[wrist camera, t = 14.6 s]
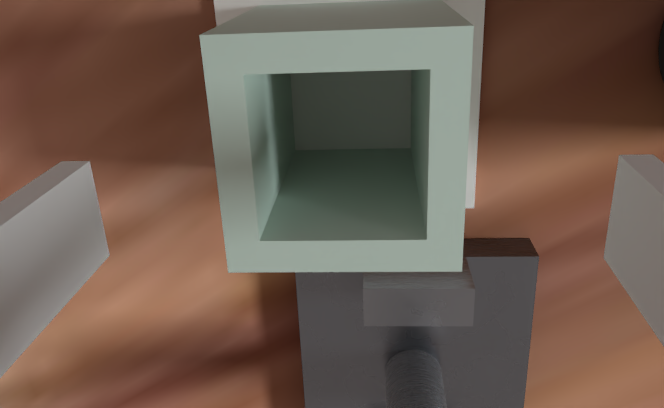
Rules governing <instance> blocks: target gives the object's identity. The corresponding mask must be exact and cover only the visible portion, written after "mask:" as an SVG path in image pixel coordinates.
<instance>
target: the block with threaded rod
mask: <svg viewBox="0 0 664 408" xmlns="http://www.w3.org/2000/svg"><path fill="white" fill-rule="evenodd" d="M538 261H539V256H538V254H537V252H536V250H535V248H534V246H533V244H532V242H531V240H530V239H529V238H514V239H464V243H463V264H462V272H295V276H296V290H297V303H298V317H299V330H300V344H301V357H302V371H303V385H304V398H305V408H524V398H525V388H526V379H527V369H528V359H529V349H530V340H531V330H532V320H533V310H534V301H535V291H536V281H537V271H538Z"/></svg>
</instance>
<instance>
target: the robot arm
mask: <svg viewBox="0 0 664 408" xmlns="http://www.w3.org/2000/svg"><path fill="white" fill-rule="evenodd" d="M109 256H110V255H109V250H108V246H107V241H106V236H105V231H104V227H103V222H102V217H101V212H100V208H99V203H98V198H97V193H96V189H95V184H94V179H93V174H92V170H91V165H90V161H61V162H60V163H58V164H57V165H55V166H54V167H52V168H51V169H49V170H48V171H46V172H45V173H43V174H42V175H40V176H39V177H37V178H36V179H34V180H33V181H31V182H30V183H28V184H27V185H25V186H24V187H22V188H21V189H19V190H18V191H16V192H15V193H13V194H12V195H10V196H9V197H7V198H6V199H4V200H3V201H1V202H0V378H1V377H2V376H3V374H4V373H5V372H6V371H7V370H8V369H9V368H10V367H11V365H12V364H13V363H14V362H15V361H16V360H17V359H18V358H19V356H20V355H21V354H22V353H23V352H24V351H25V350H26V349H27V348H28V346H29V345H30V344H31V343H32V342H33V341H34V340H35V339H36V337H37V336H38V335H39V334H40V333H41V332H42V331H43V330H44V328H45V327H46V326H47V325H48V324H49V323H50V322H51V321H52V320H53V318H54V317H55V316H56V315H57V314H58V313H59V312H60V311H61V309H62V308H63V307H64V306H65V305H66V304H67V303H68V302H69V300H70V299H71V298H72V297H73V296H74V295H75V294H76V293H77V291H78V290H79V289H80V288H81V287H82V286H83V285H84V284H85V283H86V281H87V280H88V279H89V278H90V277H91V276H92V275H93V274H94V272H95V271H96V270H97V269H98V268H99V267H100V266H101V265H102V263H103V262H104V261H105V260H106V259H107V258H108V257H109ZM604 259H605V261H606V262H607V263H608V265H609V266H610V268H611V269H612V271H613V272H614V274H615V275H616V277H617V278H618V280H619V281H620V283H621V284H622V286H623V287H624V289H625V290H626V292H627V293H628V294H629V296H630V297H631V299H632V300H633V302H634V303H635V305H636V306H637V308H638V309H639V311H640V312H641V314H642V315H643V317H644V318H645V320H646V321H647V323H648V324H649V325H650V327H651V328H652V330H653V331H654V333H655V334H656V336H657V337H658V339H659V340H660V342H661V343H662V345H663V346H664V163H663V162H662V161H660V160H659V159H658V158H657V157H655V156H654V155H619V160H618V166H617V173H616V179H615V186H614V192H613V199H612V206H611V212H610V219H609V225H608V232H607V238H606V245H605V252H604Z"/></svg>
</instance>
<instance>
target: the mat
mask: <svg viewBox="0 0 664 408" xmlns="http://www.w3.org/2000/svg"><path fill="white" fill-rule="evenodd" d="M365 1H391V0H214V8H215V17H216V26H219V25H221V24H223V23H225V22H227V21H229V20H231V19H233V18H235V17H237V16H239V15H241V14H243V13H245V12H247V11H249V10H251V9H253V8H255V7H257V6H259V5H285V4H312V3H338V2H365ZM442 1H443V2H445V3H446V4H447V5H448V6H450V7H451V8H452V9H453V10H455V11H456V12H457V13H458V14H460V15H461V16H462V17H464V18H465V19H466V20H467V21H469V22H470V23H471V24H472V25H474V33H473V54H472V75H471V96H470V117H469V138H468V159H467V180H466V201H465V208H474V201H475V182H476V164H477V145H478V126H479V108H480V89H481V71H482V52H483V33H484V15H485V0H442ZM290 77H291V92H292V107H293V122H294V137H295V150H333V149H385V148H411V70H387V71H352V72H318V73H290Z"/></svg>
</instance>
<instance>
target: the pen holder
mask: <svg viewBox="0 0 664 408" xmlns="http://www.w3.org/2000/svg"><path fill="white" fill-rule="evenodd" d="M659 65H660V72H661V75H662V78H663V81H664V22H663V26H662V30H661V34H660V40H659Z"/></svg>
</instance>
